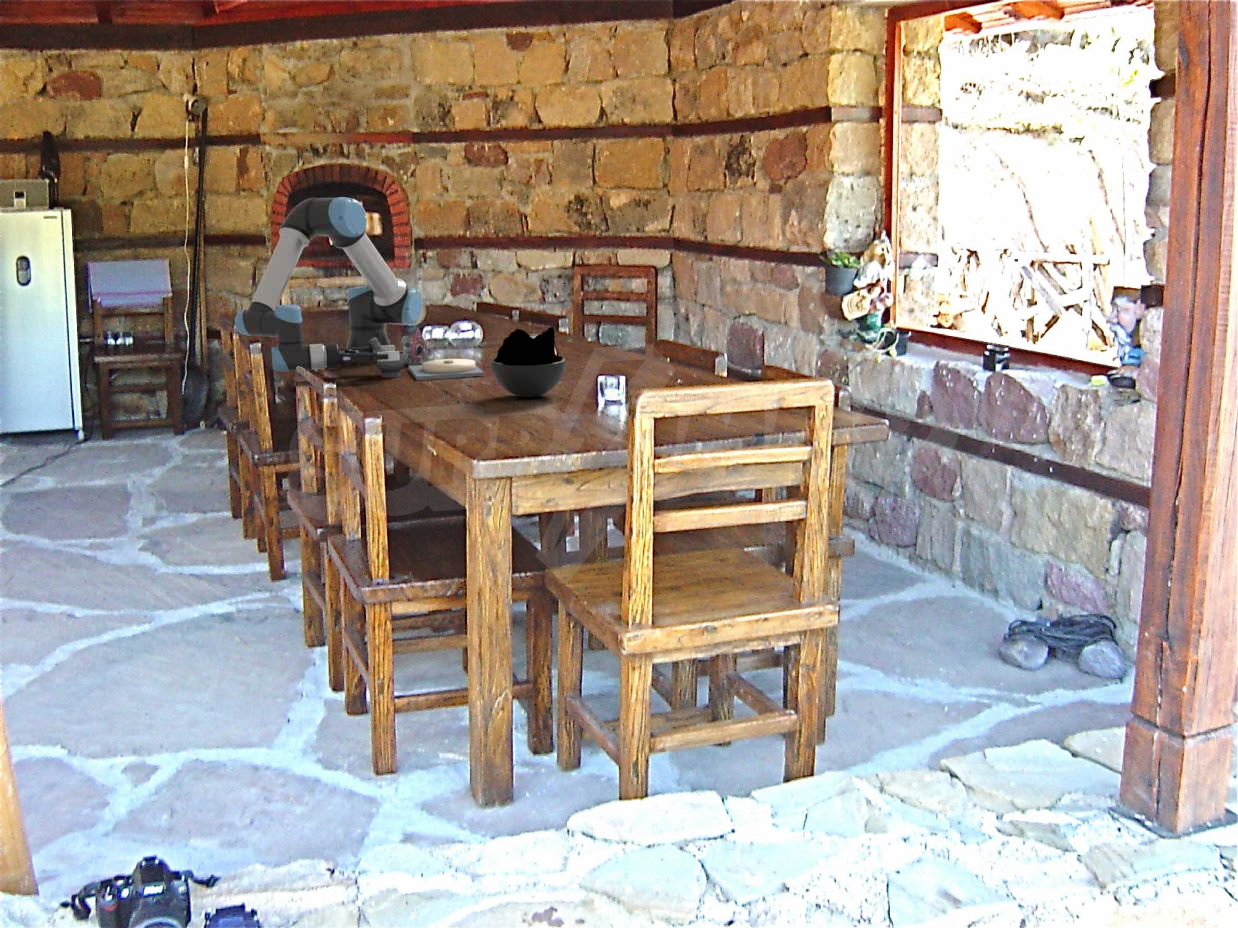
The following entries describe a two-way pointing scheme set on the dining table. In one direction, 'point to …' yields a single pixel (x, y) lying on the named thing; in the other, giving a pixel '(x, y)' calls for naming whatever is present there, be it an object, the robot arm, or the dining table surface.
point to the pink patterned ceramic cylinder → (417, 350)
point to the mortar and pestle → (388, 366)
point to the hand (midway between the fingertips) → (397, 352)
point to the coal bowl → (528, 363)
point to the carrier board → (441, 376)
